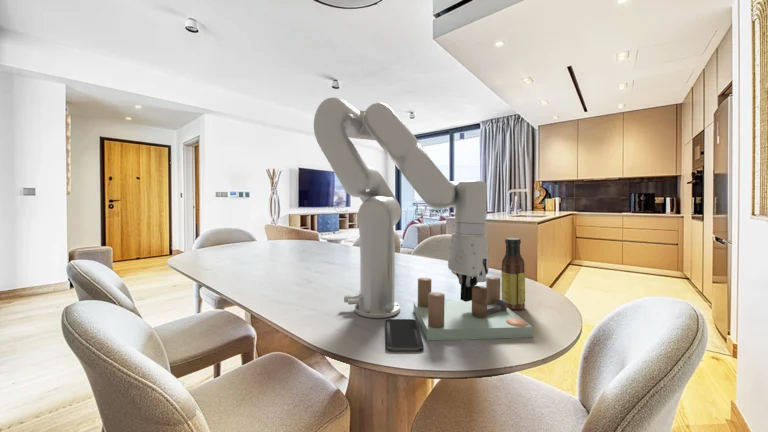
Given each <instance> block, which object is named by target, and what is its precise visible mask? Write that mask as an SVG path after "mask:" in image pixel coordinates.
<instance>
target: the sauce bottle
mask: <svg viewBox="0 0 768 432" xmlns="http://www.w3.org/2000/svg"><path fill="white" fill-rule="evenodd" d="M504 239H505V241H504V242H505V255H504V256H503V258H502V260H501V300H504V301H506V302H507V308H509V309H510V310H516V311H519V310H523V309H525V308H526V306H525V305H526V270H525V265H526V264H525V260H524V258H523V257H522V255H521V243H522V242H521V238H520V237H519V238H518V237H506V238H504Z"/></svg>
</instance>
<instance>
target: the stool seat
mask: <svg viewBox="0 0 768 432" xmlns="http://www.w3.org/2000/svg"><path fill="white" fill-rule="evenodd" d="M485 282H486V283H485V287H487V288H488V292H487V306H488V305H492V304H495V301H496V300H501V277H497V276H486V281H485ZM445 298H446V297H445V294H444V293H442V292H437V291H432V279H431V278H430V277H419V278H417V301H413V313H414V315H415V317H416V318H417V321H418V323H419V326H420V327H421V330H422V332H423V334H424V335H425V339H426V340H427V341H451V340H452V341H456V340H457V341H458V340H483V339H484V340H486V339H490V340H491V339H492V340H493V339H513V338H514V339H517V338H518V339H520V338H521V339H522V338H533V336H534V335H533V333H534V326H533V325H532V324H530V323H529V322H527V321H526V320H524V319H523V317H521V316H520V315H518V314H517V313H515V312H514V311H513V310H512V309H509V308H507V310H504V311H503V310H501V311H497V312H494V313H490V314H487V316H486V317H476V316H473V315H472V301H467V302H465V301H464V300H463V301H462V300H452V301H451V300H450V301H449V300H448V301H446V299H445Z"/></svg>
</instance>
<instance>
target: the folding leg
mask: <svg viewBox="0 0 768 432" xmlns="http://www.w3.org/2000/svg"><path fill="white" fill-rule="evenodd" d="M487 292H488V288H487V287H486V286H485V285H475V286H473V287H472V315H473V316H476V317H486V316H487V314H490V313H494V312H497V311H501V310H503V311H504V310H507V302H506V301H504V300H502V299H500V300H496V301H495V304H492V305H488V306H487Z"/></svg>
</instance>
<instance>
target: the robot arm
mask: <svg viewBox="0 0 768 432" xmlns="http://www.w3.org/2000/svg"><path fill="white" fill-rule="evenodd" d="M313 131H314V132H313V133H314V137H315V140H316V141H317V144H318V147H319V148H320V150H321V152H322V153H323V155H324V157H325V158H326V160H327V161H328V163H329V165H330V167H331V169H332V171H333V172H334V175H335V176H336V178H337V179H338V181H339V182H340V184H341V186H342V188H343V189H344V191H345V193H347V194H348V195H349V196H351V197H352V198H353V197H354V198H360V199H359V200H361V202H362V203H361V205H360V207H359V208H358V213H357V225H358V232H359V233H358V234H359V254H360V255H359V258H360V259H359V263H360V264H359V265H360V268H359V270H360V272H359V274H360V281H359V282H360V283H359V285H360V289H359V290H360V291H358V292H359V293H356V294H355V295H349V294H346V295H344V296H343V297H344V298H343V301H344V303H347V305H349V306H350V305H354V312H355V313H356V314H357V315H359V316H361V317H365V318H370V319H383V318H384V319H385V318H390V317H393V316H396V315H397V314H399V313H400V311H401V305H400V304H399V303H398V302H397V301H395V293H396V292H395V282H396V281H395V278H396V277H395V276H396V275H395V273H396V272H395V271H396V269H395V267H396V265H395V263H396V262H395V260H396V259H395V258H396V257H395V256H396V255H395V254H396V247H395V246H396V245H395V244H396V243H395V231H394V230H395V229H394V226H396V225H397V224H398V223H399V221H400V219H401V215H402V209H401V206H400V203H399V201H398V200H397V198H396V196H395V195H394V193H393V191H392V190H391V188H390V187H389V185H388V183H387V182H386V180H385V178H384V177H383V176H382V174H381V173H380V171H379V170H377V169H376V168H374V167H373V166H370V165H368V164H367V163H366V162H365V161H364V159H363V158H362V156H361V155H360V153H359V152H358V150H357V148H356V147H355V144H354V143H353V142H352V141H351V139H358V140H359V139H360V140H368V141H376V142H377V144H378V145H379V146H380V147H381V148H382V149H383V151H384V152H385V153H386V155H387V156H388V157H389V158H390V160H391V161H392V162H393V164H395V166H396V168H397V170H399V171H400V172H401V174H402V175H403V177H404V178H405V179H406V180H407V181H408V183H409V185H410V186H411V187H412V189H414V191H415V192H416V193H417V195H418V196H419V197H420V198H421V199H422V201H423V202H424V203H425V204H426V205H427V206H429V208H432V209H434V210H441V209H442V210H443V209H447V208H455V209H454V211H455V212H454V223H453V226H452V227H453V228H454V232H453V233H452V234H451V236H450V243H449V247H448V257H447V268H448V269H449V270H450V271H451V273H452V274H453V275H455V276H456V278H457V279H458V283H459V285H460V301H465V302H467V301H472V287H473V286H478V283H484V282H486V277H487V274H489V267H490V266H489V265H490V255H489V253H490V252H489V243H488V237H487V236H486V225H487V224H486V222H487V221H486V220H487V219H486V218H487V199H488V198H487V197H488V196H487V195H488V193H487V192H488V186H487V183H486V182H485V181H483V180H476V179H475V180H472V179H471V180H469V179H468V180H460V181H449V180H448V178H447V177H446V176H445V175H444V174H443V172H442V171H441V170H440V169H439V167H438V166H437V165H436V164H435V163H434V161H433V160H432V159H431V157H430V156H429V155H428V154H427V152H426V151H425V149H424V147H423V146H422V145H423V144H421V142H420V141H419V140H418V138H416V136H415V135H414V134H413V133H412V131H411V130H410V129H409V128H408V127H407V125H406V124H405V123H404V122H403V121H402V119H401V118H400V117H399V115H397V114H396V112H395V111H394V110H393V108H392V107H390V106H389V105H388V104H386V103H384V102H375V103H372V104H370V105H369V106H368V107H367V108H366V110H361V109H360V110H359V109H356V108H355V107H354V106H353V105H351V104H350V103H348V101H346V100H344V99H341V98H339V97H328V98H326V99H324V100H323V101H321V102H320V104H319V105H318V107H317V108H316V111H315V113H314V118H313Z"/></svg>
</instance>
